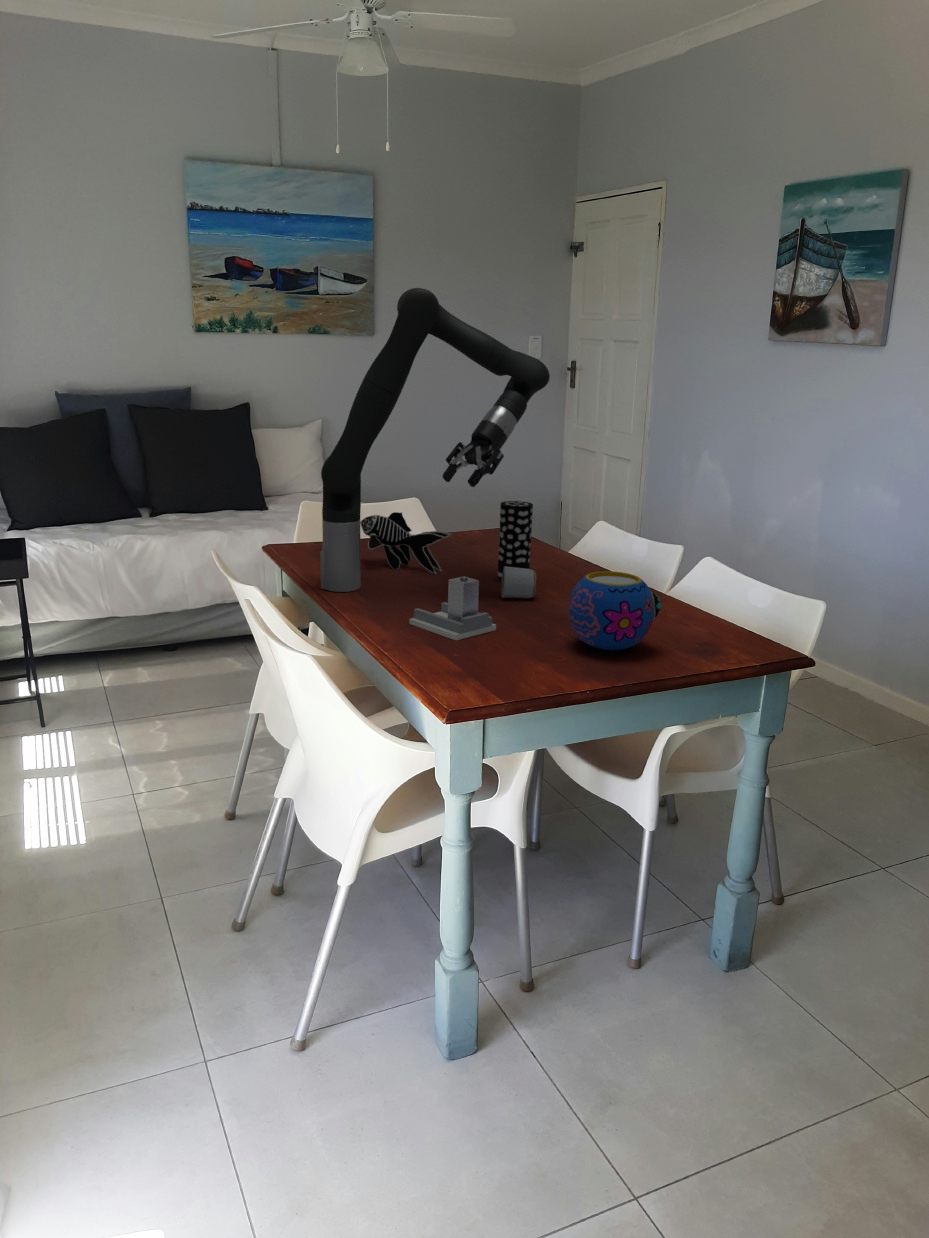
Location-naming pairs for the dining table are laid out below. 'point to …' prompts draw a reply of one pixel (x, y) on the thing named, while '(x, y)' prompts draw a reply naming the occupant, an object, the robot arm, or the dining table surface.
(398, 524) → the decorative fish
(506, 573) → the ceramic mug
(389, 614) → the dining table surface
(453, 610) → the aluminium block
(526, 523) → the spotted tube
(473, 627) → the grey open box
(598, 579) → the ceramic pot
